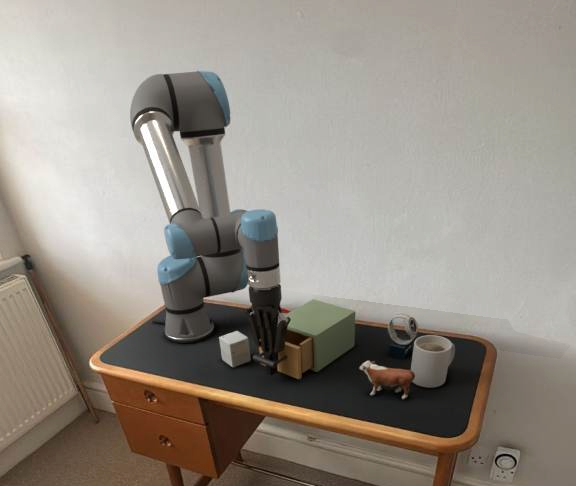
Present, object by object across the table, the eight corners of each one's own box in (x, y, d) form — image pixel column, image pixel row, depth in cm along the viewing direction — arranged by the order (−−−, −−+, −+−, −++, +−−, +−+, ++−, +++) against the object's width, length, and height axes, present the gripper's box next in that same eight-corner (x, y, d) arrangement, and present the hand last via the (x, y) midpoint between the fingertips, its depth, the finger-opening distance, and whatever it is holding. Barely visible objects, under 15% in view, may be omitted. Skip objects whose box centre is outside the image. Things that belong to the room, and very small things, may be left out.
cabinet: (316, 372, 124) (316, 335, 117) (275, 356, 132) (272, 321, 125) (354, 346, 134) (355, 310, 127) (313, 332, 142) (313, 299, 135)
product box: (232, 368, 128) (229, 344, 123) (221, 360, 132) (218, 336, 127) (251, 361, 130) (248, 337, 126) (240, 353, 134) (237, 329, 130)
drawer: (284, 389, 116) (282, 358, 111) (245, 373, 124) (242, 343, 118) (336, 353, 129) (337, 324, 124) (299, 340, 136) (297, 312, 131)
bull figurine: (359, 384, 118) (361, 356, 113) (413, 392, 114) (417, 363, 109) (355, 393, 115) (356, 364, 110) (410, 402, 111) (414, 373, 106)
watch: (409, 360, 126) (414, 323, 119) (382, 353, 130) (385, 316, 123) (417, 351, 130) (422, 314, 123) (391, 345, 133) (394, 309, 126)
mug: (410, 387, 116) (415, 351, 110) (408, 367, 123) (412, 333, 117) (456, 388, 114) (463, 352, 108) (450, 368, 122) (457, 334, 115)
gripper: (233, 284, 108) (244, 371, 122) (275, 296, 101) (281, 387, 116) (255, 274, 112) (263, 359, 127) (296, 285, 105) (300, 374, 120)
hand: (272, 372), depth 121 cm, fingers closed
